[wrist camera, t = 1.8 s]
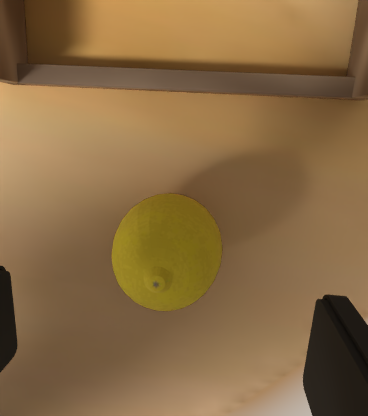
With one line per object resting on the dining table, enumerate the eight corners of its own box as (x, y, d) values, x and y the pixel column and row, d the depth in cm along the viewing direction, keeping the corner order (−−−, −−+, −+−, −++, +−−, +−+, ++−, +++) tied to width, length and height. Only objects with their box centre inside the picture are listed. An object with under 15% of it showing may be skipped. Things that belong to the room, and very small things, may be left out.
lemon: (126, 186, 21) (76, 224, 13) (215, 177, 20) (219, 212, 12) (139, 268, 22) (101, 347, 14) (223, 262, 21) (231, 341, 14)
